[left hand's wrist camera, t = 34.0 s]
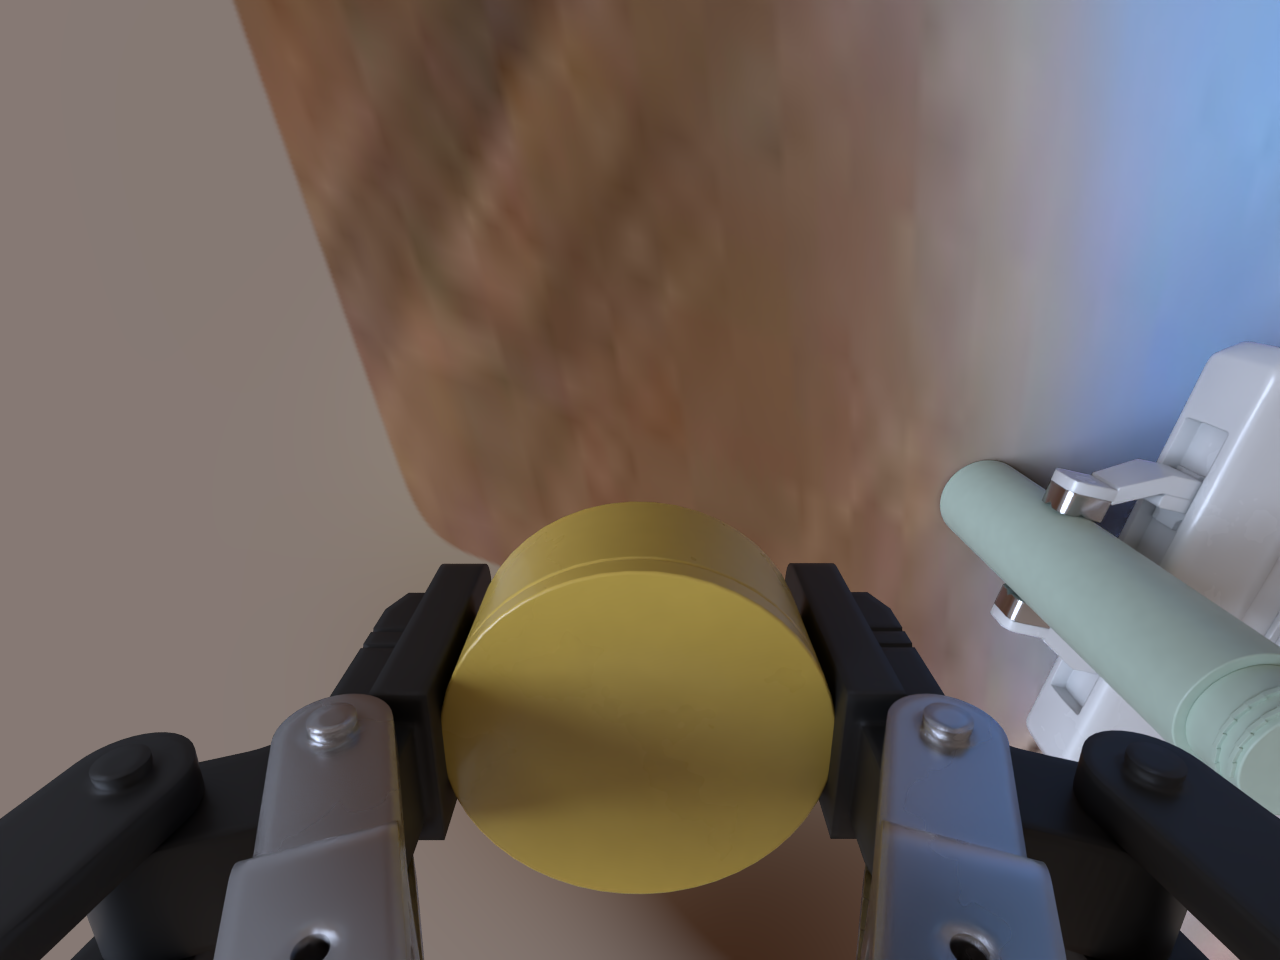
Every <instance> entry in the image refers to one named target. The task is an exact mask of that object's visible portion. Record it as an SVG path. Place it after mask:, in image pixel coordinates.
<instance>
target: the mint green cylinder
mask: <svg viewBox="0 0 1280 960" xmlns="http://www.w3.org/2000/svg"><path fill="white" fill-rule="evenodd" d="M1045 492H1046V490H1045V489H1044V488H1042V487H1041V486H1039V485H1038V484H1036V483H1035V482H1033V481H1032V480H1030V479H1029V478H1027V477H1026V476H1024V475H1023V474H1021V473H1020V472H1018V471H1017V470H1015V469H1014V468H1012V467H1011V466H1009V465H1007V464H1005V463H1003V462H1000V461H994V460H985V461H979V462H975V463H972V464H970V465H967V466H965V467H964V468H962V469H961V470H959V471H958V472H957V473H956V474H954V475H953V476H952V478H951V479H950V480H949V481H948V483H947V484H946V486H945V488H944V490H943V493H942V496H941V501H940V510H941V515H942V517H943V520H944V521H945V523H946V524H947V526H948V527H949V528H950V529H951V530H952V531H953V532H954V533H955V534H956V535H957V536H958V537H959V538H960V539H961V540H962V541H963V542H964V543H965V544H966V545H967V546H968V547H969V548H970V549H971V550H972V551H973V552H975V553H976V554H977V555H978V556H979V557H980V558H981V559H982V560H983V561H984V562H985V563H986V564H987V565H988V566H989V567H990V568H991V569H992V570H993V571H994V572H995V573H996V574H997V575H998V576H999V577H1000V578H1001V579H1002V580H1003V581H1004V582H1005V583H1006V584H1007V585H1008V586H1009V587H1010V588H1011V589H1012V590H1013V591H1014V592H1015V593H1016V594H1017V595H1018V596H1019V597H1020V598H1021V599H1022V600H1023V601H1024V602H1025V603H1026V604H1027V605H1028V606H1029V607H1030V608H1031V609H1032V610H1033V611H1034V612H1035V613H1036V614H1037V615H1038V616H1039V617H1040V618H1041V619H1043V620H1044V621H1045V622H1046V623H1047V624H1048V625H1049V626H1050V627H1051V628H1052V629H1053V630H1054V631H1055V632H1056V633H1057V634H1058V635H1059V636H1060V637H1061V638H1062V639H1063V640H1064V641H1065V642H1066V643H1067V644H1068V645H1069V646H1070V647H1071V648H1072V649H1073V650H1074V651H1075V652H1076V653H1077V654H1078V655H1079V656H1080V657H1081V658H1082V659H1083V660H1084V661H1085V662H1086V663H1087V664H1088V665H1089V666H1090V667H1091V668H1092V669H1093V670H1094V671H1095V672H1096V673H1097V674H1098V675H1099V676H1100V677H1101V678H1102V679H1103V680H1104V681H1105V682H1106V683H1107V684H1108V685H1109V686H1110V687H1112V688H1113V689H1114V690H1115V691H1116V692H1117V693H1118V694H1119V695H1120V696H1121V697H1122V698H1123V699H1124V700H1125V701H1126V702H1127V703H1128V704H1129V705H1130V706H1131V707H1132V708H1133V709H1134V710H1135V711H1136V712H1137V713H1138V714H1139V715H1140V716H1141V717H1142V718H1143V719H1144V720H1145V721H1146V722H1147V723H1148V724H1149V725H1150V726H1151V727H1152V728H1153V729H1154V730H1155V731H1156V732H1157V733H1158V734H1159V735H1160V736H1161V737H1162V738H1163V739H1164V740H1165V741H1166V742H1168V743H1170V744H1172V745H1175V746H1177V747H1179V748H1181V749H1183V750H1184V751H1186V752H1188V753H1190V754H1192V755H1193V756H1194V757H1196V758H1197V759H1199V760H1200V761H1202V762H1203V763H1205V764H1206V765H1207V766H1209V767H1210V768H1211V769H1213V770H1214V771H1215V772H1217V773H1218V774H1220V775H1221V776H1222V777H1224V778H1225V779H1226V780H1228V781H1229V782H1230V783H1232V784H1233V785H1234V786H1236V787H1237V788H1239V789H1240V790H1241V791H1243V792H1244V793H1245V794H1247V795H1248V796H1249V797H1251V798H1252V799H1253V800H1255V801H1256V802H1257V803H1259V804H1260V805H1262V806H1263V807H1264V808H1266V809H1267V810H1268V811H1270V812H1271V813H1272V814H1274V815H1280V647H1279V646H1278V645H1276V644H1275V643H1273V642H1272V641H1270V640H1269V639H1267V638H1266V637H1264V636H1263V635H1261V634H1260V633H1259V632H1257V631H1256V630H1254V629H1253V628H1251V627H1250V626H1248V625H1247V624H1245V623H1244V622H1242V621H1241V620H1239V619H1238V618H1236V617H1235V616H1233V615H1232V614H1230V613H1229V612H1227V611H1226V610H1224V609H1223V608H1221V607H1220V606H1218V605H1217V604H1215V603H1214V602H1212V601H1211V600H1209V599H1208V598H1206V597H1205V596H1203V595H1202V594H1200V593H1199V592H1197V591H1196V590H1194V589H1193V588H1191V587H1190V586H1188V585H1187V584H1185V583H1184V582H1182V581H1181V580H1179V579H1178V578H1176V577H1175V576H1173V575H1172V574H1170V573H1169V572H1167V571H1166V570H1164V569H1163V568H1161V567H1160V566H1158V565H1157V564H1156V563H1154V562H1153V561H1151V560H1150V559H1148V558H1147V557H1145V556H1144V555H1142V554H1141V553H1139V552H1138V551H1136V550H1135V549H1133V548H1132V547H1130V546H1129V545H1127V544H1126V543H1124V542H1123V541H1121V540H1120V539H1118V538H1117V537H1115V536H1114V535H1112V534H1111V533H1109V532H1108V531H1106V530H1105V529H1103V528H1102V527H1100V526H1099V525H1097V524H1096V523H1094V522H1093V521H1090V520H1087V519H1085V518H1083V517H1082V516H1078V517H1072V516H1068V515H1065V514H1062V513H1059V512H1058V511H1056V510H1054V509H1053V508H1051V505H1050V504H1046V503H1044V502H1043V501H1042V499H1043V496H1044V494H1045Z"/></svg>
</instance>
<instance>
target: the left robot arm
mask: <svg viewBox="0 0 1280 960" xmlns="http://www.w3.org/2000/svg"><path fill="white" fill-rule="evenodd" d="M785 582H786V584H787V585H788V587H789V589H790V591H791V593H792V596H793V598H794V601H795V603H796V606H797V608H798V611H799V613H800V616H801V618H802V621H803V623H804V626H805V628H806V631H807V633H808V636H809V638H810V641H811V643H812V646H813V648H814V651H815V653H816V656H817V658H818V661H819V663H820V666H821V668H822V671H823V673H824V676H825V679H826V682H827V684H828V687H829V690H830V693H831V695H832V700H833V705H834V710H835V719H834V730H833V738H832V747H831V756H830V765H829V772H828V780H827V783H826V785H825V787H824V789H823V791H822V793H821V795H820V798H819V802H820V805H821V808H822V812H823V815H824V818H825V821H826V825H827V828H828V831H829V835H830V838H831V839H857V841H858V844H859V847H860V850H861V853H862V856H863V859H864V862H865V871H864V878H863V887H862V898H861V909H860V920H859V931H858V942H857V953H856V960H1209V959H1208V958H1207V957H1206V956H1205V955H1204V954H1203V953H1202V952H1201V951H1200V950H1199V949H1198V948H1197V947H1196V946H1195V945H1194V944H1193V943H1192V942H1191V941H1190V940H1189V939H1188V938H1187V937H1186V936H1185V935H1184V934H1183V933H1182V932H1181V931H1180V928H1181V926H1182V923H1183V920H1184V917H1185V915H1186V912H1187V910H1188V911H1189V912H1190V913H1191V914H1192V915H1193V916H1194V917H1196V918H1197V919H1198V920H1199V921H1200V922H1201V923H1202V924H1203V925H1204V926H1205V927H1206V928H1207V929H1208V930H1209V931H1210V932H1211V933H1212V934H1213V935H1214V936H1215V937H1216V938H1218V939H1219V940H1220V941H1221V942H1222V943H1223V944H1224V945H1225V946H1226V947H1227V948H1228V949H1229V950H1230V951H1231V952H1232V953H1233V954H1234V955H1235V956H1236V957H1237V958H1238V959H1240V960H1280V819H1279V818H1278V817H1276V816H1275V815H1274V814H1272V813H1271V812H1270V811H1268V810H1267V809H1266V808H1264V807H1263V806H1262V805H1260V804H1259V803H1257V802H1256V801H1255V800H1253V799H1252V798H1251V797H1249V796H1248V795H1247V794H1245V793H1244V792H1243V791H1241V790H1240V789H1239V788H1237V787H1236V786H1234V785H1233V784H1232V783H1230V782H1229V781H1228V780H1226V779H1225V778H1224V777H1222V776H1221V775H1220V774H1218V773H1217V772H1215V771H1214V770H1213V769H1211V768H1210V767H1209V766H1207V765H1206V764H1205V763H1203V762H1202V761H1200V760H1199V759H1197V758H1196V757H1194V756H1193V755H1192V754H1190V753H1188V752H1186V751H1184V750H1183V749H1181V748H1179V747H1177V746H1175V745H1172V744H1170V743H1168V742H1166V741H1163V740H1160V739H1158V738H1155V737H1151V736H1148V735H1145V734H1140V733H1136V732H1130V731H1122V730H1110V731H1102V732H1098V733H1095V734H1093V735H1091V736H1089V737H1088V738H1087V739H1086V740H1085V742H1084V744H1083V746H1082V750H1081V754H1080V758H1079V761H1078V762H1077V761H1072V760H1068V759H1063V758H1058V757H1054V756H1049V755H1045V754H1040V753H1035V752H1031V751H1026V750H1022V749H1018V748H1015V747H1012V746H1009V742H1008V738H1007V735H1006V734H1005V732H1004V730H1003V729H1002V727H1001V726H1000V725H999V724H998V723H997V722H996V721H995V720H994V719H993V718H992V717H991V716H989V715H988V714H987V713H985V712H984V711H982V710H981V709H979V708H977V707H975V706H973V705H971V704H969V703H967V702H964V701H962V700H959V699H956V698H952V697H948V696H945V695H944V693H943V692H942V690H941V689H940V687H939V685H938V684H937V682H936V681H935V679H934V677H933V676H932V674H931V673H930V671H929V669H928V668H927V666H926V665H925V663H924V662H923V660H922V658H921V657H920V655H919V654H918V652H917V650H916V649H915V647H912V642H911V641H910V639H909V638H908V636H907V634H906V633H905V631H902V627H901V625H900V623H899V622H898V620H897V619H896V617H895V615H894V614H893V612H892V611H891V609H890V608H889V607H887V606H886V605H885V604H883V603H882V602H880V601H879V600H877V599H876V598H875V597H873V596H872V595H870V594H869V593H868V592H850V590H849V588H848V587H847V585H846V583H845V581H844V579H843V577H842V576H841V574H840V572H839V570H838V568H837V567H836V565H835V564H834V563H790V564H789V565H788V567H787V571H786V577H785ZM490 583H491V575H490V570H489V567H488V565H487V564H442V565H441V566H440V567H439V569H438V571H437V573H436V574H435V576H434V578H433V580H432V582H431V583H430V585H429V587H428V589H427V590H426V592H425V593H408V594H406V595H405V596H404V597H402V598H401V599H399V600H398V601H397V602H395V603H394V604H392V605H391V606H390V607H388V608H387V609H386V610H385V611H384V613H383V614H382V616H381V617H380V619H379V620H378V622H377V624H376V625H375V627H374V630H373V632H371V633H370V635H369V636H368V638H367V639H366V641H365V642H364V644H363V648H361V649H360V650H359V652H358V653H357V655H356V657H355V658H354V660H353V661H352V663H351V664H350V666H349V667H348V669H347V671H346V672H345V674H344V675H343V677H342V679H341V680H340V682H339V683H338V685H337V686H336V688H335V689H334V691H333V693H332V694H331V696H330V697H328V698H324V699H321V700H319V701H316V702H313V703H311V704H309V705H307V706H305V707H303V708H301V709H299V710H298V711H296V712H295V713H293V714H292V715H291V716H289V717H288V718H287V719H286V720H285V721H284V722H283V723H282V724H281V725H280V726H279V728H278V729H277V730H276V732H275V734H274V736H273V738H272V742H271V745H269V746H266V747H263V748H260V749H257V750H253V751H249V752H245V753H240V754H235V755H231V756H226V757H222V758H217V759H212V760H208V761H203V762H198V758H197V755H196V751H195V748H194V745H193V743H192V742H191V741H190V740H189V739H188V738H186V737H184V736H182V735H179V734H175V733H167V732H158V733H148V734H142V735H137V736H133V737H130V738H126V739H123V740H120V741H117V742H115V743H112V744H109V745H107V746H105V747H103V748H101V749H99V750H97V751H95V752H93V753H91V754H89V755H88V756H86V757H84V758H83V759H81V760H80V761H78V762H77V763H75V764H74V765H73V766H71V767H70V768H69V769H67V770H66V771H65V772H63V773H62V774H60V775H59V776H58V777H56V778H55V779H54V780H52V781H51V782H50V783H48V784H47V785H46V786H44V787H43V788H41V789H40V790H39V791H37V792H36V793H35V794H33V795H32V796H31V797H29V798H28V799H27V800H25V801H24V802H22V803H21V804H20V805H18V806H17V807H16V808H14V809H13V810H12V811H10V812H9V813H8V814H6V815H5V816H4V817H2V818H1V819H0V960H40V959H41V958H42V957H44V956H45V955H46V954H47V953H48V952H49V951H50V950H51V949H52V948H53V947H54V946H55V945H56V944H57V943H58V942H59V941H60V940H61V939H62V938H63V937H65V936H66V935H67V934H68V933H69V932H70V931H71V930H72V929H73V928H74V927H75V926H76V925H77V924H78V923H79V922H80V921H81V920H82V919H83V918H84V917H85V916H87V917H88V920H89V923H90V925H91V928H92V931H93V933H94V937H93V938H92V939H91V940H90V941H89V942H88V943H87V944H86V945H85V946H84V947H83V948H82V949H81V950H80V951H79V952H78V953H77V954H76V955H75V956H74V957H73V958H72V959H71V960H424V953H423V942H422V931H421V920H420V909H419V898H418V887H417V878H416V871H415V864H414V857H413V854H414V851H415V848H416V845H417V842H418V840H445V836H446V833H447V830H448V827H449V823H450V820H451V817H452V814H453V811H454V807H455V804H456V801H457V797H456V795H455V793H454V791H453V789H452V786H451V784H450V782H449V779H448V775H447V767H446V760H445V751H444V742H443V734H442V723H441V709H442V705H443V701H444V697H445V692H446V689H447V687H448V684H449V682H450V679H451V677H452V674H453V672H454V669H455V667H456V665H457V662H458V660H459V657H460V655H461V652H462V650H463V647H464V645H465V642H466V640H467V638H468V635H469V633H470V630H471V628H472V625H473V623H474V620H475V618H476V616H477V613H478V611H479V608H480V606H481V603H482V601H483V598H484V596H485V593H486V591H487V589H488V586H489V585H490Z"/></svg>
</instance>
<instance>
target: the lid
mask: <svg viewBox="0 0 1280 960" xmlns="http://www.w3.org/2000/svg"><path fill="white" fill-rule="evenodd" d="M834 719H835V710H834V705H833V700H832V695H831V693H830V690H829V687H828V684H827V682H826V679H825V676H824V673H823V671H822V668H821V666H820V663H819V661H818V658H817V656H816V653H815V651H814V648H813V646H812V643H811V641H810V638H809V636H808V633H807V631H806V628H805V626H804V623H803V621H802V618H801V616H800V613H799V611H798V608H797V606H796V603H795V601H794V598H793V596H792V593H791V591H790V589H789V587H788V585H787V584H786V582H785V580H784V578H783V576H782V574H781V573H780V572H779V570H778V569H777V568H776V566H775V565H774V564H773V562H772V561H771V560H770V558H769V557H768V556H767V555H766V554H765V553H764V552H763V551H762V550H761V549H760V548H759V547H758V546H757V545H756V544H755V543H753V542H752V541H751V540H750V539H748V538H747V537H746V536H744V535H743V534H742V533H740V532H739V531H738V530H736V529H734V528H732V527H731V526H729V525H727V524H725V523H724V522H722V521H720V520H718V519H716V518H713V517H711V516H708V515H706V514H703V513H701V512H698V511H695V510H691V509H688V508H684V507H680V506H676V505H670V504H663V503H655V502H623V503H614V504H606V505H601V506H597V507H593V508H588V509H584V510H582V511H579V512H576V513H573V514H571V515H568V516H565V517H563V518H561V519H559V520H557V521H555V522H553V523H551V524H549V525H548V526H546V527H544V528H542V529H541V530H540V531H538V532H537V533H535V534H534V535H532V536H531V537H530V538H528V539H527V540H526V541H525V542H523V543H522V544H521V545H520V546H519V547H518V548H517V549H516V550H515V551H514V552H513V553H512V554H511V555H510V556H509V557H508V558H507V560H506V561H505V562H504V563H503V565H502V566H501V567H500V568H499V569H498V571H497V573H496V575H495V576H494V578H493V580H492V581H491V583H490V585H489V586H488V589H487V591H486V593H485V596H484V598H483V601H482V603H481V606H480V608H479V611H478V613H477V616H476V618H475V620H474V623H473V625H472V628H471V630H470V633H469V635H468V638H467V640H466V642H465V645H464V647H463V650H462V652H461V655H460V657H459V660H458V662H457V665H456V667H455V669H454V672H453V674H452V677H451V679H450V682H449V684H448V687H447V689H446V692H445V697H444V701H443V705H442V709H441V723H442V734H443V742H444V751H445V760H446V767H447V775H448V779H449V782H450V784H451V786H452V789H453V791H454V793H455V795H456V797H457V799H458V800H459V802H460V804H461V805H462V807H463V808H464V810H465V812H466V813H467V815H468V816H469V817H470V818H471V820H472V821H473V822H474V823H475V824H476V826H477V827H478V828H479V829H480V831H482V832H483V833H484V834H485V835H486V836H487V837H488V838H489V839H490V840H491V841H492V842H493V843H494V844H495V845H496V846H498V847H499V848H500V849H502V850H503V851H505V852H506V853H507V854H509V855H510V856H511V857H513V858H514V859H516V860H518V861H519V862H521V863H523V864H524V865H526V866H528V867H530V868H531V869H533V870H535V871H538V872H540V873H542V874H544V875H547V876H549V877H551V878H554V879H556V880H559V881H563V882H566V883H569V884H572V885H575V886H579V887H583V888H588V889H593V890H598V891H605V892H614V893H623V894H651V893H663V892H673V891H678V890H683V889H689V888H694V887H697V886H701V885H704V884H708V883H711V882H715V881H718V880H720V879H722V878H725V877H727V876H730V875H732V874H735V873H737V872H739V871H741V870H743V869H745V868H747V867H748V866H750V865H752V864H754V863H756V862H758V861H759V860H760V859H762V858H763V857H765V856H766V855H768V854H769V853H771V852H772V851H774V850H775V849H776V848H777V847H778V846H779V845H781V844H782V843H783V842H784V841H785V840H786V839H788V838H789V837H790V836H791V835H792V834H793V833H794V832H795V831H796V829H797V828H798V827H799V826H800V825H801V824H802V823H803V821H804V820H805V819H806V818H807V816H808V815H809V813H810V812H811V810H812V809H813V807H814V806H815V804H816V803H817V801H818V800H819V798H820V795H821V793H822V791H823V789H824V787H825V785H826V783H827V780H828V772H829V765H830V756H831V747H832V738H833V730H834Z"/></svg>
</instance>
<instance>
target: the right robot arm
mask: <svg viewBox="0 0 1280 960" xmlns="http://www.w3.org/2000/svg"><path fill="white" fill-rule="evenodd" d="M1133 500H1137V501H1136V503H1135V505H1134V507H1133V509H1132V511H1131V513H1130V515H1129V517H1128V519H1127V521H1126V523H1125V525H1124V527H1123V529H1122V531H1121V533H1120V535H1119V537H1118V539H1120V540H1121V541H1123V542H1124V543H1126V544H1127V545H1129V546H1130V547H1132V548H1133V549H1135V550H1136V551H1138V552H1139V553H1141V554H1142V555H1144V556H1145V557H1147V558H1148V559H1150V560H1151V561H1153V562H1154V563H1156V564H1157V565H1158V566H1160V567H1161V568H1163V569H1164V570H1166V571H1167V572H1169V573H1170V574H1172V575H1173V576H1175V577H1176V578H1178V579H1179V580H1181V581H1182V582H1184V583H1185V584H1187V585H1188V586H1190V587H1191V588H1193V589H1194V590H1196V591H1197V592H1199V593H1200V594H1202V595H1203V596H1205V597H1206V598H1208V599H1209V600H1211V601H1212V602H1214V603H1215V604H1217V605H1218V606H1220V607H1221V608H1223V609H1224V610H1226V611H1227V612H1229V613H1230V614H1232V615H1233V616H1235V617H1236V618H1238V619H1239V620H1241V621H1242V622H1244V623H1245V624H1247V625H1248V626H1250V627H1251V628H1253V629H1254V630H1256V631H1257V632H1259V633H1260V634H1261V635H1263V636H1264V637H1266V638H1267V639H1269V640H1270V641H1272V642H1273V643H1275V644H1276V645H1278V646H1279V647H1280V347H1276V346H1272V345H1267V344H1261V343H1256V342H1249V341H1245V342H1241V343H1238V344H1236V345H1233V346H1231V347H1228V348H1226V349H1223V350H1221V351H1219V352H1216V353H1215V354H1213V355H1212V356H1211V357H1210V358H1209V360H1208V361H1207V363H1206V365H1205V367H1204V369H1203V371H1202V373H1201V375H1200V377H1199V379H1198V381H1197V382H1196V384H1195V386H1194V388H1193V390H1192V392H1191V394H1190V396H1189V398H1188V400H1187V402H1186V404H1185V406H1184V408H1183V410H1182V412H1181V414H1180V416H1179V418H1178V420H1177V422H1176V424H1175V426H1174V428H1173V430H1172V432H1171V434H1170V436H1169V438H1168V440H1167V442H1166V444H1165V446H1164V448H1163V450H1162V452H1161V454H1160V456H1159V458H1158V460H1157V462H1152V461H1148V460H1143V459H1139V458H1138V459H1134V460H1131V461H1128V462H1125V463H1122V464H1118V465H1115V466H1112V467H1109V468H1105V469H1102V470H1099V471H1096V472H1093V473H1092V475H1089V474H1084V473H1080V472H1075V471H1071V470H1066V469H1062V468H1056V469H1055V472H1054V474H1053V476H1052V478H1051V481H1050V483H1049V485H1048V487H1047V490H1046V492H1045V494H1044V496H1043V499H1042V501H1043V502H1044V503H1046V504H1050V505H1051V508H1053V509H1054V510H1056V511H1058V512H1059V513H1062V514H1065V515H1068V516H1072V517H1078V516H1082V517H1083V518H1085V519H1087V520H1090V521H1094V522H1099V523H1101V522H1102V520H1103V518H1104V516H1105V514H1106V512H1107V510H1108V508H1109V507H1110V505H1115V504H1120V503H1124V502H1128V501H1133ZM990 613H991V615H992V616H993V617H994V618H995V619H996V620H997V622H998V623H999V624H1000V625H1001V626H1002V627H1004V628H1005V629H1007V630H1009V631H1012V632H1014V633H1019V634H1024V635H1029V636H1033V637H1038V638H1041V639H1042V640H1043V641H1044V642H1045V643H1046V644H1047V645H1048V646H1049V647H1050V648H1051V649H1052V650H1053V651H1054V652H1055V653H1056V654H1057V655H1058V658H1057V660H1056V661H1055V663H1054V665H1053V667H1052V669H1051V671H1050V673H1049V675H1048V677H1047V679H1046V681H1045V683H1044V685H1043V687H1042V689H1041V691H1040V693H1039V695H1038V697H1037V699H1036V701H1035V703H1034V705H1033V707H1032V709H1031V710H1030V712H1029V714H1028V717H1027V720H1026V725H1027V728H1028V730H1029V732H1030V734H1031V735H1032V737H1033V739H1034V740H1035V742H1036V744H1037V745H1038V747H1039V748H1040V750H1041V751H1042V753H1043V754H1045V755H1049V756H1054V757H1058V758H1063V759H1068V760H1072V761H1077V762H1078V761H1079V758H1080V754H1081V750H1082V746H1083V744H1084V742H1085V740H1086V739H1087V738H1088V737H1089V736H1091V735H1093V734H1095V733H1098V732H1102V731H1110V730H1122V731H1130V732H1136V733H1140V734H1145V735H1148V736H1151V737H1155V738H1158V739H1160V740H1163V741H1165V740H1164V739H1163V738H1162V737H1161V736H1160V735H1159V734H1158V733H1157V732H1156V731H1155V730H1154V729H1153V728H1152V727H1151V726H1150V725H1149V724H1148V723H1147V722H1146V721H1145V720H1144V719H1143V718H1142V717H1141V716H1140V715H1139V714H1138V713H1137V712H1136V711H1135V710H1134V709H1133V708H1132V707H1131V706H1130V705H1129V704H1128V703H1127V702H1126V701H1125V700H1124V699H1123V698H1122V697H1121V696H1120V695H1119V694H1118V693H1117V692H1116V691H1115V690H1114V689H1113V688H1112V687H1110V686H1109V685H1108V684H1107V683H1106V682H1105V681H1104V680H1103V679H1102V678H1101V677H1100V676H1099V675H1098V674H1097V673H1096V672H1095V671H1094V670H1093V669H1092V668H1091V667H1090V666H1089V665H1088V664H1087V663H1086V662H1085V661H1084V660H1083V659H1082V658H1081V657H1080V656H1079V655H1078V654H1077V653H1076V652H1075V651H1074V650H1073V649H1072V648H1071V647H1070V646H1069V645H1068V644H1067V643H1066V642H1065V641H1064V640H1063V639H1062V638H1061V637H1060V636H1059V635H1058V634H1057V633H1056V632H1055V631H1054V630H1053V629H1052V628H1051V627H1050V626H1049V625H1048V624H1047V623H1046V622H1045V621H1044V620H1043V619H1041V618H1040V617H1039V616H1038V615H1037V614H1036V613H1035V612H1034V611H1033V610H1032V609H1031V608H1030V607H1029V606H1028V605H1027V604H1026V603H1025V602H1024V601H1023V600H1022V599H1021V598H1020V597H1019V596H1018V595H1017V594H1016V593H1015V592H1014V591H1013V590H1012V589H1011V588H1010V587H1009V586H1008V585H1007V584H1006V583H1005V584H1003V586H1002V588H1001V590H1000V592H999V594H998V596H997V598H996V600H995V603H994V605H993V607H992V609H991V612H990Z"/></svg>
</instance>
